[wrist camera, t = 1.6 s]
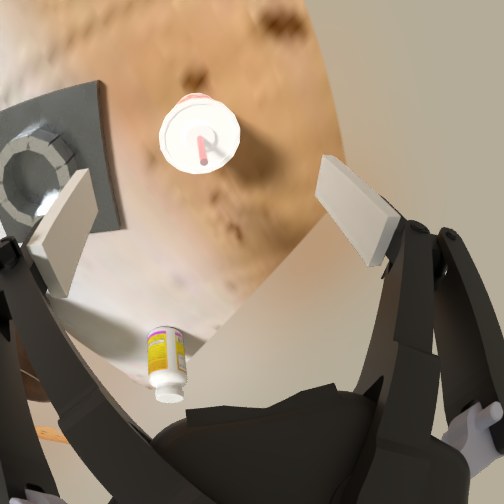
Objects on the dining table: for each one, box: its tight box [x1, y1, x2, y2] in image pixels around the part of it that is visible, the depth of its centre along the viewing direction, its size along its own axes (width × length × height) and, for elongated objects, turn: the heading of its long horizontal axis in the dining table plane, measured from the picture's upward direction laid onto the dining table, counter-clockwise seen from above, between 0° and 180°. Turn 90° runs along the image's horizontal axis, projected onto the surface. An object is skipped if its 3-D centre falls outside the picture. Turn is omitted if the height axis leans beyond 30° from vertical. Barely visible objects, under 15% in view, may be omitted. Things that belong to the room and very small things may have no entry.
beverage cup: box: [159, 93, 240, 174], centre depth 21 cm, size 6×6×14 cm
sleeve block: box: [0, 80, 121, 243], centre depth 23 cm, size 18×18×4 cm
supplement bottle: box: [148, 327, 187, 403], centre depth 44 cm, size 7×7×13 cm
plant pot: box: [14, 296, 51, 402], centre depth 30 cm, size 15×15×16 cm
